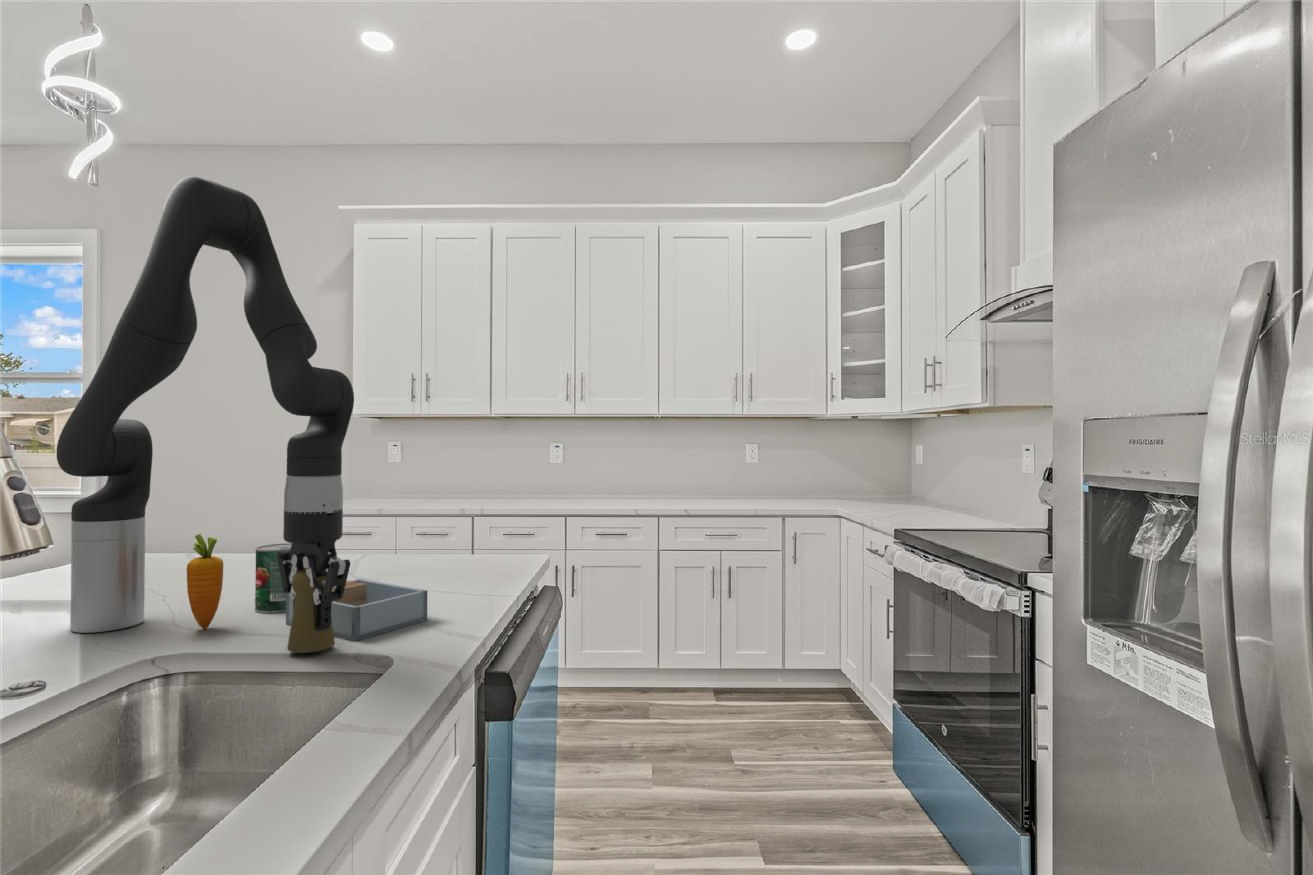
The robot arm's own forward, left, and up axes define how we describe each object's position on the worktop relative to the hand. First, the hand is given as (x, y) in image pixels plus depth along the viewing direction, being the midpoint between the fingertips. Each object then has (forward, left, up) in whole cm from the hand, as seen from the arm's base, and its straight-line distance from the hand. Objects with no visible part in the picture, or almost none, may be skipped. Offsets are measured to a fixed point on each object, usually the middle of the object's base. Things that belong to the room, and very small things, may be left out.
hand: (311, 626), depth 96 cm
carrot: (-25, -2, -4) cm, 25 cm away
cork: (0, 0, -3) cm, 3 cm away
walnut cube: (-11, +13, -3) cm, 17 cm away
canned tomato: (-28, +12, -4) cm, 30 cm away
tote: (-8, +13, -4) cm, 16 cm away
